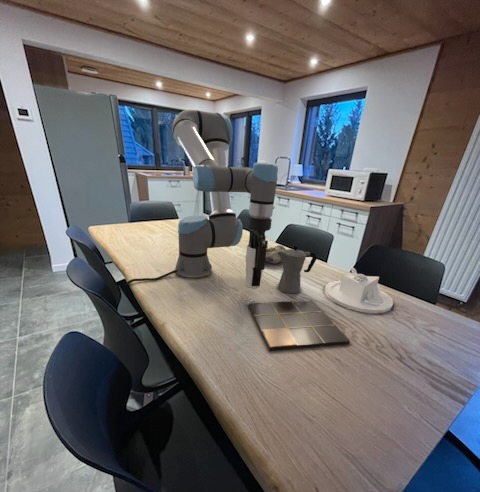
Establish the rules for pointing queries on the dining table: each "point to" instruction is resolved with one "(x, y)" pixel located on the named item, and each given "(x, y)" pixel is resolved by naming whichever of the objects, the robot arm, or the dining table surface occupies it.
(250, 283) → the drinking glass
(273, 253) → the geode
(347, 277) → the dish
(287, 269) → the coffeepot
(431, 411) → the dining table surface
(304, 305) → the board
